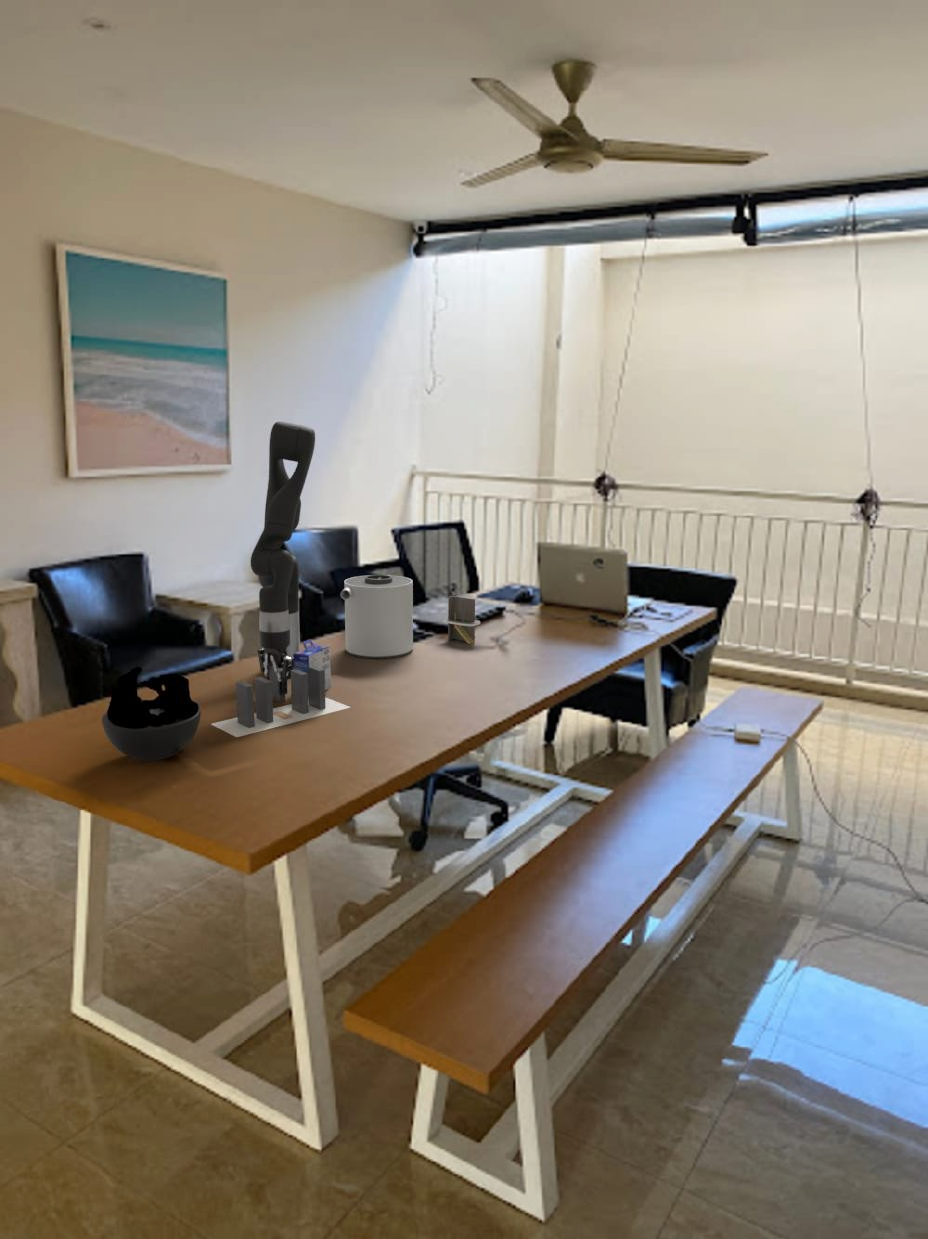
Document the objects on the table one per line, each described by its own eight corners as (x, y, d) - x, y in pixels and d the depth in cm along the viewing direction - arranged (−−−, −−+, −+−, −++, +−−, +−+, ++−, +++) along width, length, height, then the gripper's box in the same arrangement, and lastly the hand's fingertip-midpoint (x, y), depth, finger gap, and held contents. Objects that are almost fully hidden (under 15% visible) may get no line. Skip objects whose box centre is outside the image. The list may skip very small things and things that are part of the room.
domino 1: (248, 728, 212) (246, 687, 210) (237, 722, 215) (235, 682, 213) (254, 726, 213) (253, 685, 211) (243, 721, 216) (241, 680, 214)
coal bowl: (203, 770, 190) (198, 683, 185) (101, 780, 184) (93, 691, 180) (202, 737, 208) (197, 658, 204) (109, 745, 203) (102, 664, 198)
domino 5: (320, 709, 225) (319, 670, 223) (308, 705, 229) (307, 666, 227) (325, 708, 226) (324, 669, 224) (314, 703, 230) (313, 665, 228)
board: (210, 728, 215) (210, 723, 214) (323, 700, 236) (323, 695, 236) (236, 741, 206) (236, 736, 206) (350, 711, 228) (350, 706, 227)
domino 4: (303, 714, 222) (301, 674, 220) (291, 709, 225) (290, 670, 223) (308, 712, 223) (307, 673, 221) (297, 707, 227) (296, 669, 224)
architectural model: (475, 654, 283) (476, 608, 280) (412, 642, 297) (412, 598, 294) (509, 642, 299) (510, 598, 295) (447, 631, 313) (448, 589, 309)
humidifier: (407, 660, 274) (407, 584, 269) (338, 658, 276) (337, 582, 270) (417, 643, 295) (416, 572, 290) (353, 641, 296) (352, 570, 291)
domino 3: (280, 705, 231) (278, 667, 229) (269, 701, 235) (268, 663, 233) (285, 704, 232) (284, 666, 230) (274, 699, 236) (273, 662, 234)
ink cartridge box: (315, 687, 246) (313, 635, 243) (332, 690, 244) (331, 638, 241) (293, 697, 238) (291, 644, 235) (311, 700, 235) (309, 646, 232)
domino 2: (267, 723, 215) (265, 682, 213) (256, 718, 219) (254, 678, 216) (273, 721, 216) (271, 681, 214) (262, 716, 220) (260, 676, 218)
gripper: (303, 630, 227) (305, 695, 230) (272, 620, 237) (274, 683, 241) (277, 635, 222) (279, 701, 225) (246, 624, 232) (249, 688, 235)
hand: (277, 691), depth 233 cm, fingers closed on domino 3, 5 cm apart
